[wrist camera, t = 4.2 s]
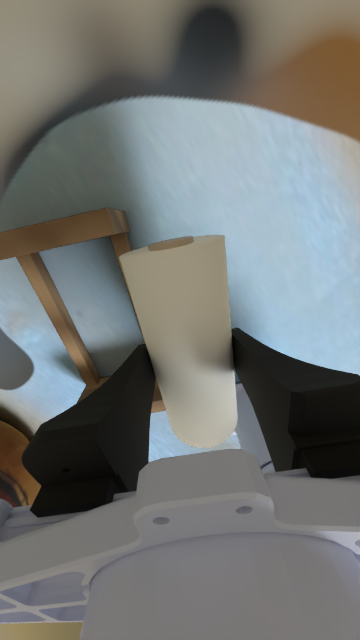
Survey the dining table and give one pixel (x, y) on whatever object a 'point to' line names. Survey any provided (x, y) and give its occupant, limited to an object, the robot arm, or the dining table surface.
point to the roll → (187, 332)
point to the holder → (26, 249)
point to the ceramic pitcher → (15, 469)
